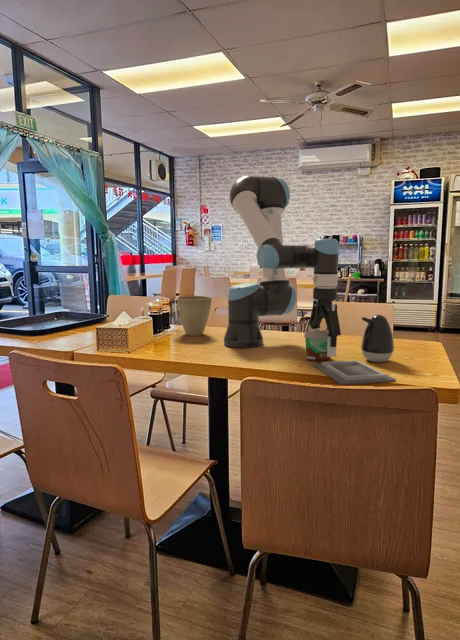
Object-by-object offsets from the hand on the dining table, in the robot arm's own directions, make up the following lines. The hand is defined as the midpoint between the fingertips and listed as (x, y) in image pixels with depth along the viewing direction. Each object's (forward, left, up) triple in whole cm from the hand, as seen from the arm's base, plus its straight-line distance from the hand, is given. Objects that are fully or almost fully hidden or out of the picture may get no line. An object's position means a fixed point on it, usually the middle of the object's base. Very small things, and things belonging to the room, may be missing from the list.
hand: (323, 351), depth 147 cm
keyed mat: (+17, +2, -3) cm, 17 cm away
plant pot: (-55, -36, -3) cm, 66 cm away
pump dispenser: (+4, +17, -3) cm, 18 cm away
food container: (0, 0, -3) cm, 3 cm away
